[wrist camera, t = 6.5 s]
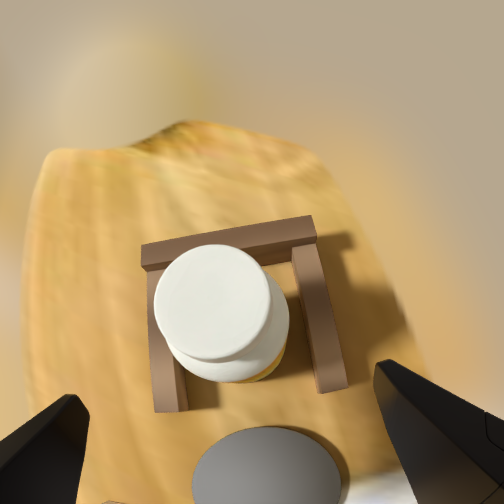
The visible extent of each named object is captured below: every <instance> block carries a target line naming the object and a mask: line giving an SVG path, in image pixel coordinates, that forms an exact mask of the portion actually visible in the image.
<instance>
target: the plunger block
mask: <svg viewBox="0 0 504 504" xmlns="http://www.w3.org/2000/svg"><path fill="white" fill-rule="evenodd" d="M102 504H122V503H117V502H112V501H107V502H105V503H102Z"/></svg>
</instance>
